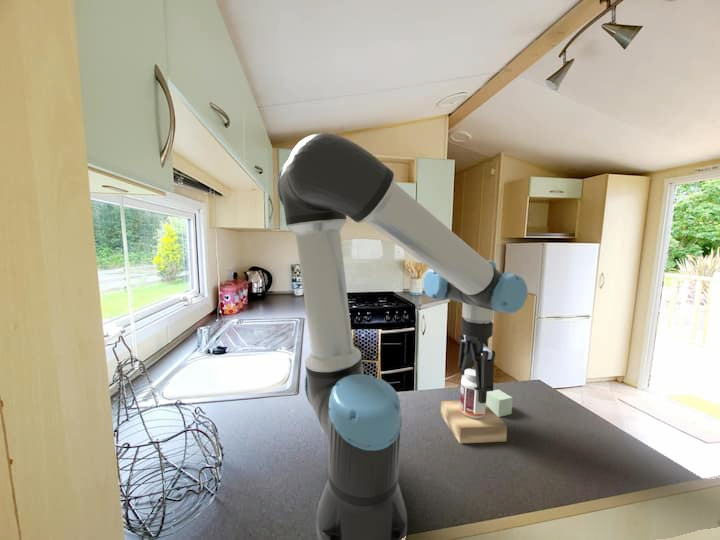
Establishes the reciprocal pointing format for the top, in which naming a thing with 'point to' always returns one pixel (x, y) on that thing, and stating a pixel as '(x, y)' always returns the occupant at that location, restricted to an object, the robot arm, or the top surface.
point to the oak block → (473, 424)
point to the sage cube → (499, 402)
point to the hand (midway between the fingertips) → (472, 405)
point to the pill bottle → (468, 394)
